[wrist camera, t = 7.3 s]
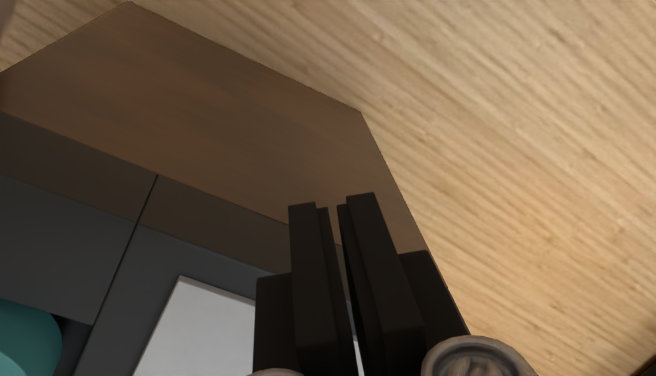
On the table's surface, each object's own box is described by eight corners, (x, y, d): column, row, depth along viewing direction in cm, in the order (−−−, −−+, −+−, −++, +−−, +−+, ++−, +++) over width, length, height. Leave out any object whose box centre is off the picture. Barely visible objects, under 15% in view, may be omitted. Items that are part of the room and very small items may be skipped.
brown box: (67, 168, 37) (-121, 402, 19) (127, 0, 33) (-41, 94, 15) (284, 250, 41) (298, 502, 23) (361, 112, 37) (449, 288, 19)
